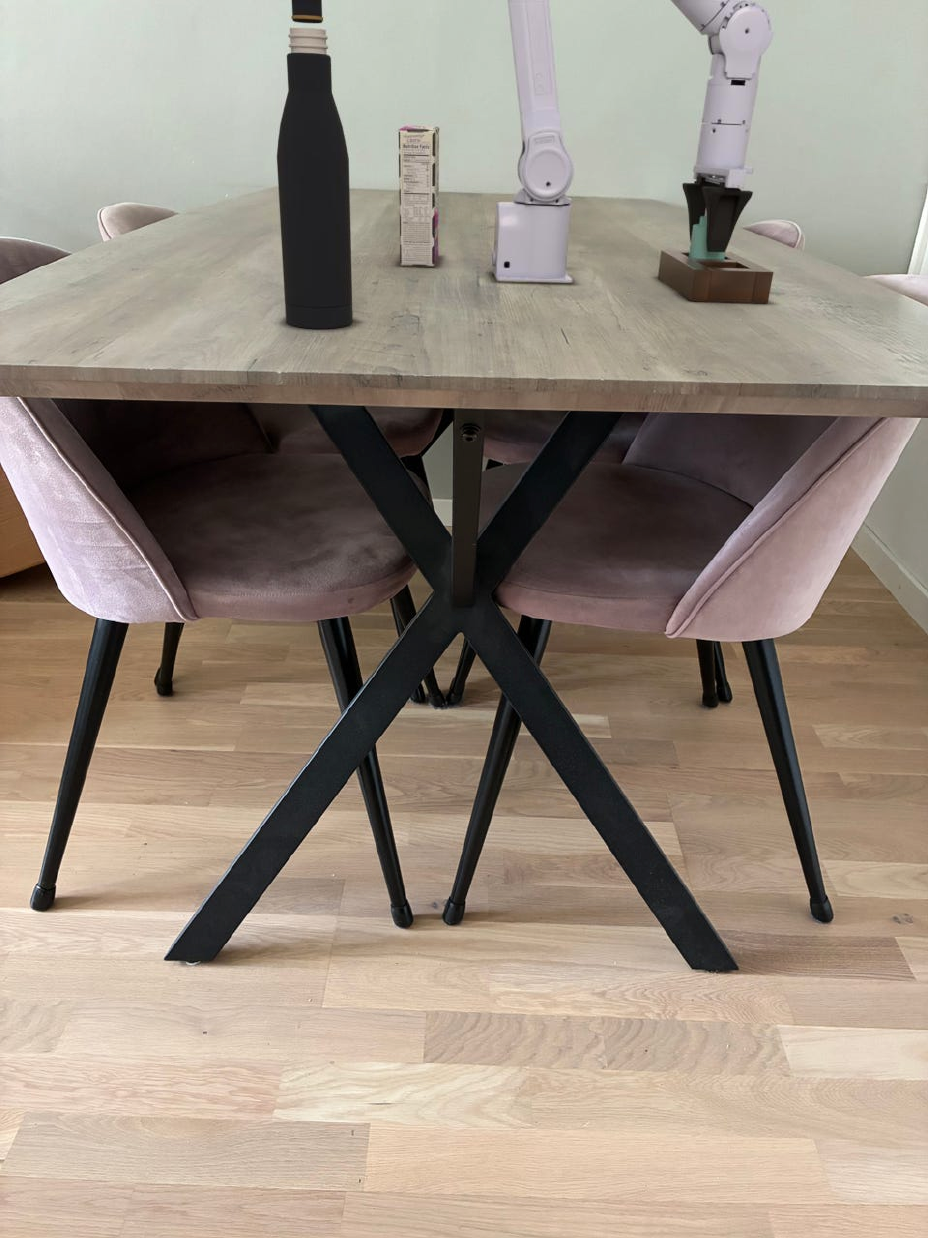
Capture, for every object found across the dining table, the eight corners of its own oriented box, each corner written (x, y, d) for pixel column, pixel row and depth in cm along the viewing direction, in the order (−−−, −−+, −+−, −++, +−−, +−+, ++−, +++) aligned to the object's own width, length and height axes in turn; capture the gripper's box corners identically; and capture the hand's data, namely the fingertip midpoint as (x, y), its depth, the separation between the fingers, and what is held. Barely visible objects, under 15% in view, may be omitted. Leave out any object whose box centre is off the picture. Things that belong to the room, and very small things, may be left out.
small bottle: (690, 287, 115) (702, 200, 111) (681, 281, 119) (693, 197, 114) (724, 288, 116) (738, 201, 111) (714, 282, 120) (727, 198, 115)
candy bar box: (403, 254, 132) (404, 124, 124) (438, 256, 132) (441, 126, 124) (397, 266, 122) (397, 126, 114) (435, 267, 122) (437, 127, 114)
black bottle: (340, 331, 87) (329, -63, 72) (276, 325, 88) (251, -63, 73) (360, 318, 92) (353, -50, 77) (299, 313, 93) (281, -51, 78)
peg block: (690, 301, 107) (695, 269, 105) (657, 277, 121) (661, 249, 120) (767, 303, 108) (773, 271, 106) (726, 279, 122) (730, 251, 120)
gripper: (780, 126, 103) (757, 256, 109) (740, 124, 115) (721, 240, 122) (718, 124, 102) (699, 254, 109) (684, 122, 115) (669, 238, 121)
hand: (707, 247), depth 115 cm, fingers open, 7 cm apart
